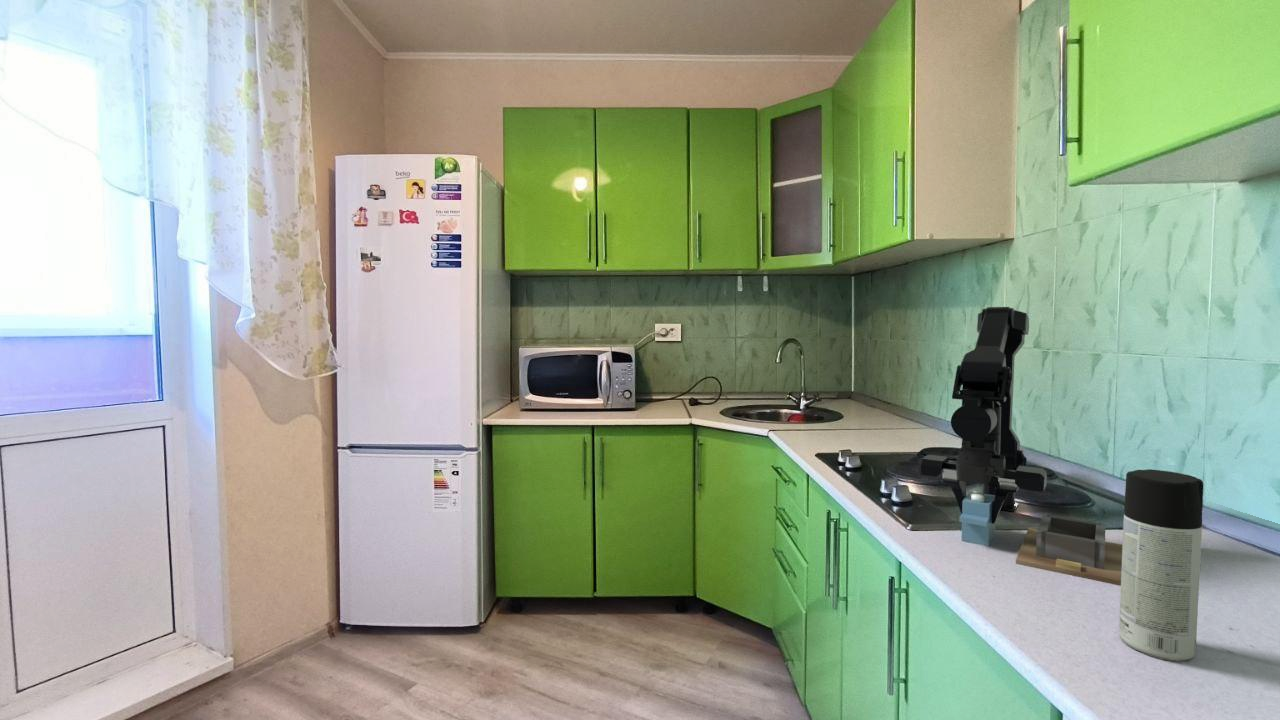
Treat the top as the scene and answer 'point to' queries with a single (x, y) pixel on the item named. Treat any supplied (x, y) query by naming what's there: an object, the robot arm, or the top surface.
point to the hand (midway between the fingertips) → (978, 520)
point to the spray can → (1161, 563)
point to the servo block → (977, 518)
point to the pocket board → (1072, 549)
